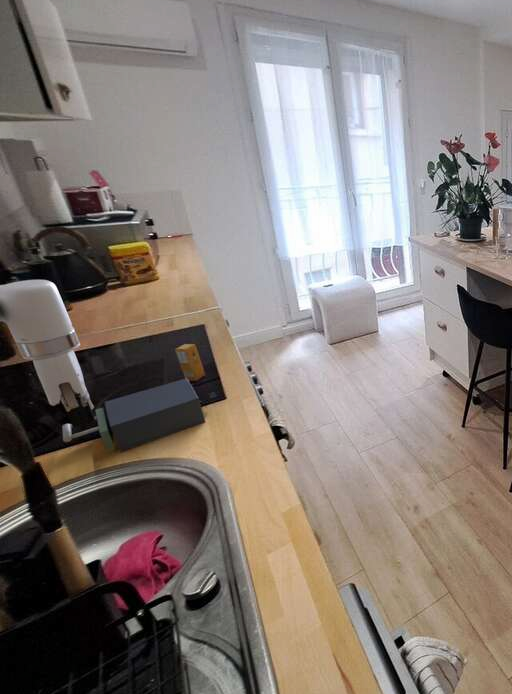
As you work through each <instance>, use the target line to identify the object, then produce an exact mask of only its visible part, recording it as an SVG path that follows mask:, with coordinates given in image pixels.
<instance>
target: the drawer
mask: <svg viewBox="0 0 512 694" xmlns="http://www.w3.org/2000/svg"><path fill="white" fill-rule="evenodd" d="M94 418H95V420H94V421H93V422H95V421H97V426H96V427H92V428H89V429H86V430H83V431H80V432H76V433H73V432H72V428H74V427H73V426H72V424H71V423H65V424H63V425H62V427H61V428H62V441H63V442H65V443H69V442H71V441H72V440H73V439H76V438H79V437H82V436H85V435H88V434H91V433H94V432H97V431H98V433H99V435H100V437H101V439H102V441H103V445H104V447H105V449H106V452H111V451H113V450H116V446H115V441H114V435H113V433H112V430H111V428H110V424H109V420H108V416H107V413H106V412H105V409H104V407H100V408H96V409H95V416H94ZM72 433H73V434H72Z"/></svg>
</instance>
